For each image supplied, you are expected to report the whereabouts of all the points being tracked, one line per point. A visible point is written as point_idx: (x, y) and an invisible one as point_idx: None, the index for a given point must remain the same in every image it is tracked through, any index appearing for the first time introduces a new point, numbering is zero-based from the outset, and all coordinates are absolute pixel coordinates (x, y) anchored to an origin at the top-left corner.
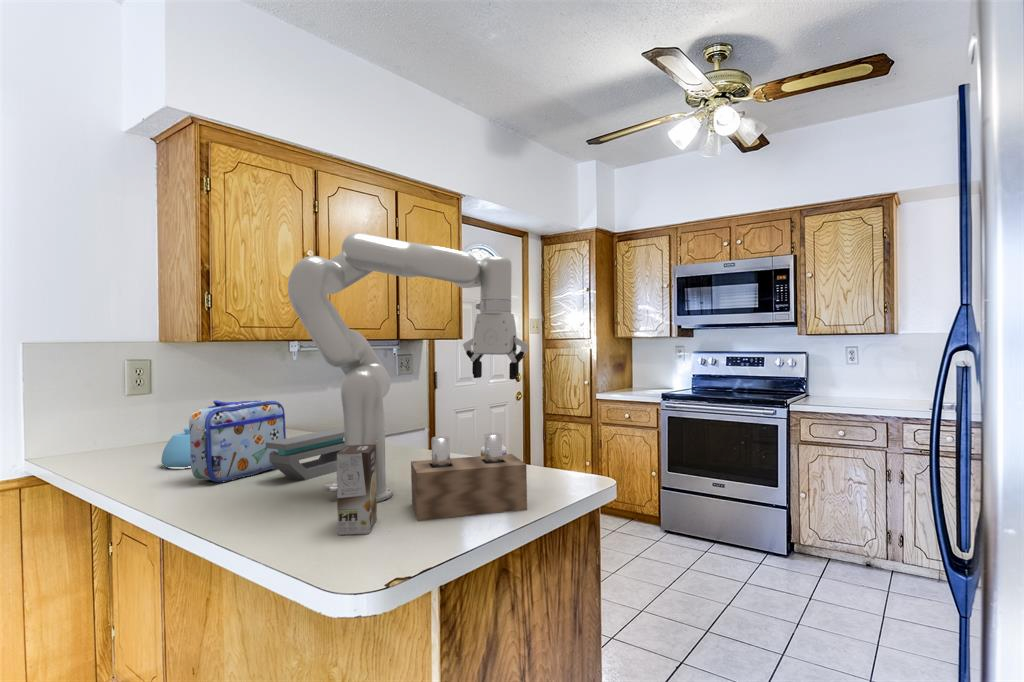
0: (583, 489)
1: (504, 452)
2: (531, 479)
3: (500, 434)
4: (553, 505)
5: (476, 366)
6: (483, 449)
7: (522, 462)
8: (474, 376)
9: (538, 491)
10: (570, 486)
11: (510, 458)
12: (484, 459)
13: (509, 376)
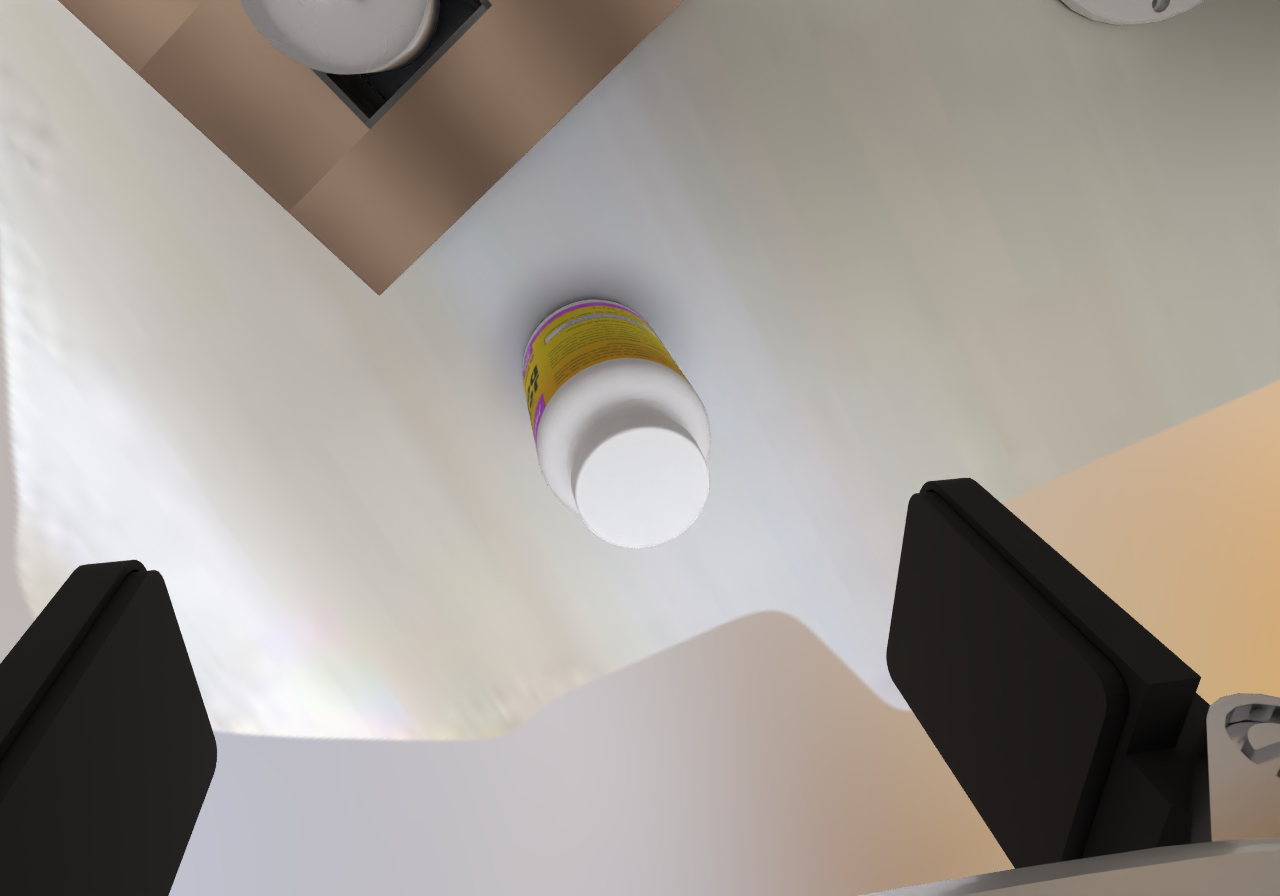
0: (107, 501)
1: (536, 439)
2: (471, 549)
3: (257, 4)
4: (60, 143)
5: (1040, 628)
6: (667, 378)
7: (95, 21)
8: (953, 483)
9: (310, 367)
10: (207, 522)
11: (286, 134)
12: (464, 23)
13: (137, 594)
